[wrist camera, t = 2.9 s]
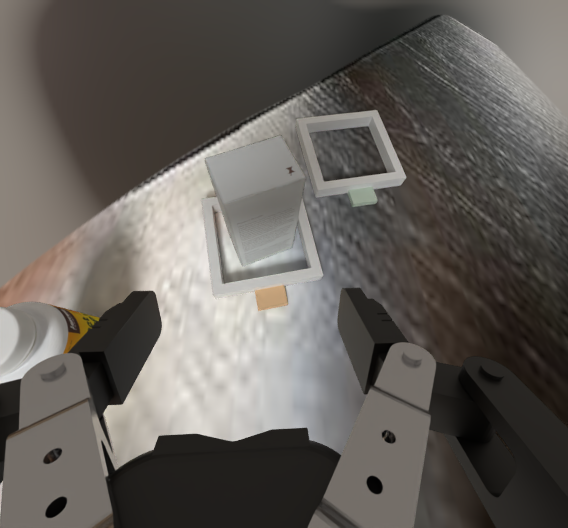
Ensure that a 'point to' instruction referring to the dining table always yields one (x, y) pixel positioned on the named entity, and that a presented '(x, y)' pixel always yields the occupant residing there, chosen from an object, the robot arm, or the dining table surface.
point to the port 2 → (359, 186)
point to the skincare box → (258, 196)
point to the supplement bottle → (37, 335)
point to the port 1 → (265, 287)
